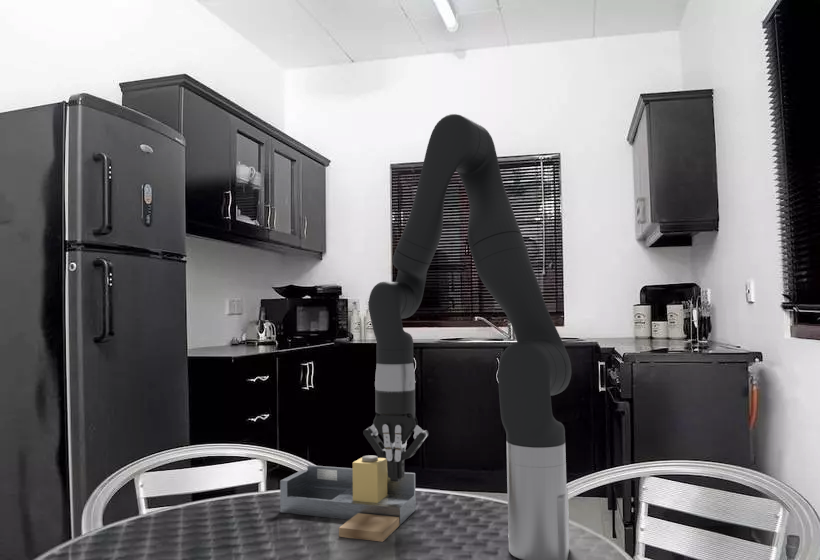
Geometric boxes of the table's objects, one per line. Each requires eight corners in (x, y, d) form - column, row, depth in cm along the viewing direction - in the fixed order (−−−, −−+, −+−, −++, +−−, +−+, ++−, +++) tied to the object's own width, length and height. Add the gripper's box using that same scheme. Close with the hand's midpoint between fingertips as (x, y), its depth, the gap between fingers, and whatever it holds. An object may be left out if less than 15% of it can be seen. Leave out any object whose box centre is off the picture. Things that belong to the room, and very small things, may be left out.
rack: (415, 510, 117) (415, 473, 117) (400, 524, 109) (399, 485, 109) (302, 499, 125) (302, 464, 125) (280, 512, 117) (280, 475, 117)
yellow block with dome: (387, 495, 117) (387, 455, 117) (377, 502, 112) (377, 461, 112) (363, 493, 118) (363, 453, 119) (352, 500, 113) (352, 459, 114)
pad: (399, 525, 108) (399, 517, 108) (382, 541, 101) (382, 532, 101) (358, 521, 111) (358, 513, 111) (339, 536, 103) (339, 527, 103)
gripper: (434, 386, 116) (435, 478, 115) (370, 384, 120) (371, 472, 119) (422, 390, 109) (423, 489, 108) (355, 388, 113) (355, 483, 112)
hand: (395, 480), depth 114 cm, fingers closed
